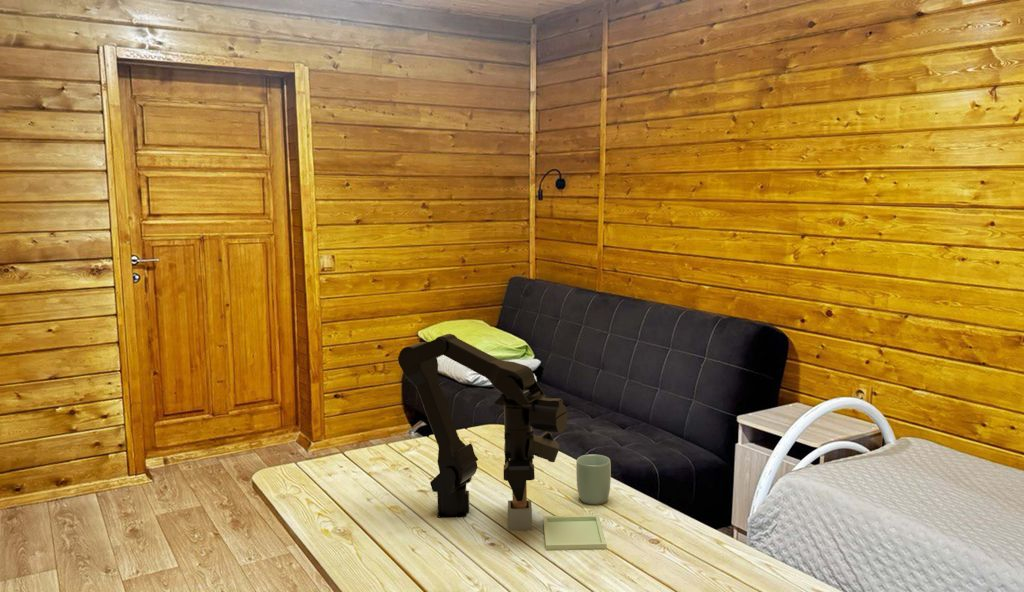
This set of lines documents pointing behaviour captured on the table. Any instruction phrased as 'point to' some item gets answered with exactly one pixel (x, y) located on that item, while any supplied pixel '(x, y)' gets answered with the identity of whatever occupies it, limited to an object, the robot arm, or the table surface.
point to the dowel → (520, 503)
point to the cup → (593, 478)
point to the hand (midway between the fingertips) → (519, 497)
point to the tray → (573, 532)
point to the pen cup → (519, 517)
